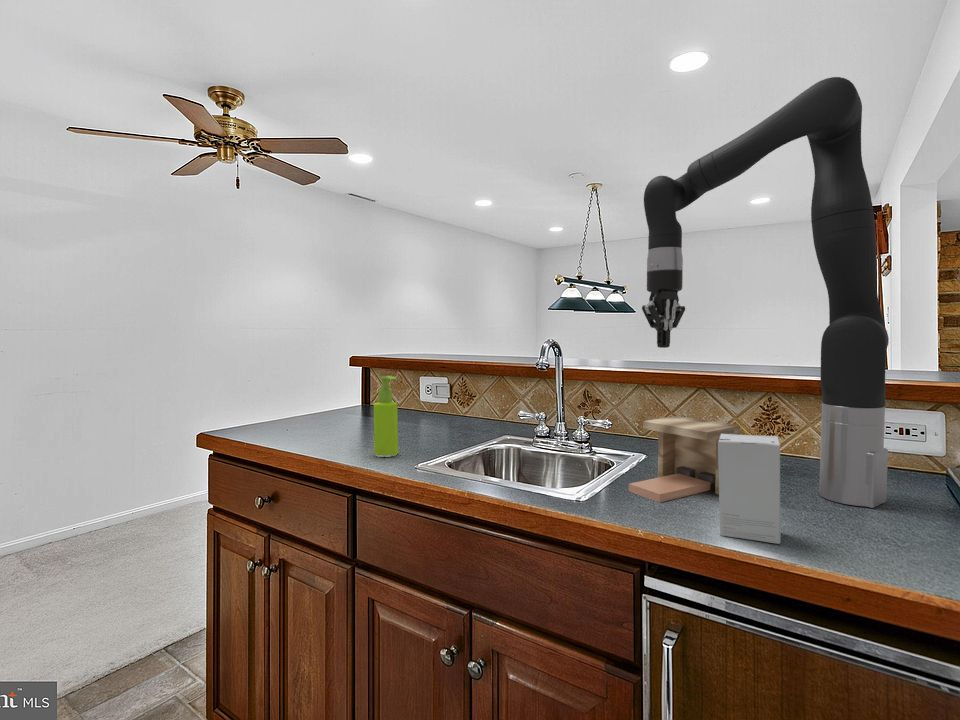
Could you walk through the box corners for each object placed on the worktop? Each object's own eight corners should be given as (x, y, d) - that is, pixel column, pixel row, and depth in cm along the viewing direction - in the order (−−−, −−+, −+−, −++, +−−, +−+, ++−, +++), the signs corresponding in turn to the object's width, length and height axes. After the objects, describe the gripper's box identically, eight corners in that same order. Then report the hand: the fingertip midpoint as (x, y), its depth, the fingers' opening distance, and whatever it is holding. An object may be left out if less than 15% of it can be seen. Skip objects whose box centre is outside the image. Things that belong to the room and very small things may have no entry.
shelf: (738, 489, 99) (740, 425, 98) (705, 500, 93) (707, 432, 92) (675, 473, 111) (676, 415, 110) (642, 481, 104) (642, 421, 104)
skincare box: (779, 532, 78) (781, 435, 77) (780, 547, 73) (783, 443, 72) (718, 522, 82) (720, 431, 81) (716, 536, 77) (718, 438, 76)
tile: (710, 492, 99) (710, 482, 99) (659, 505, 92) (660, 494, 92) (678, 482, 106) (678, 473, 105) (628, 494, 99) (628, 483, 99)
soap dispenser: (384, 460, 124) (382, 377, 123) (370, 454, 129) (368, 375, 128) (404, 456, 128) (403, 376, 127) (390, 451, 133) (389, 374, 132)
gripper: (660, 266, 108) (659, 348, 109) (697, 270, 115) (696, 347, 116) (631, 269, 114) (630, 347, 115) (668, 273, 121) (667, 346, 122)
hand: (663, 347), depth 115 cm, fingers closed
